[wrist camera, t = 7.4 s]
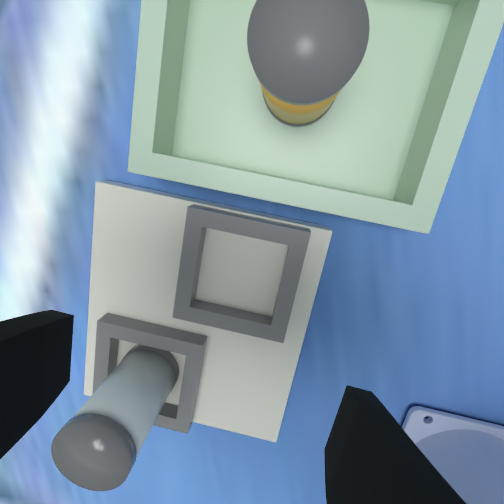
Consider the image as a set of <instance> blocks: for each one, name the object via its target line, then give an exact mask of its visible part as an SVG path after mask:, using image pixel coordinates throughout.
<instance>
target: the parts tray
mask: <svg viewBox="0 0 504 504" xmlns="http://www.w3.org/2000/svg"><path fill="white" fill-rule="evenodd" d="M256 1H257V0H142V2H141V15H140V27H139V39H138V51H137V64H136V76H135V88H134V100H133V112H132V125H131V137H130V149H129V161H128V172H131V173H136V174H141V175H146V176H151V177H156V178H160V179H165V180H170V181H175V182H180V183H185V184H189V185H194V186H199V187H204V188H209V189H214V190H218V191H223V192H228V193H233V194H238V195H243V196H247V197H252V198H257V199H262V200H267V201H272V202H276V203H281V204H286V205H291V206H296V207H301V208H305V209H310V210H315V211H320V212H325V213H330V214H334V215H339V216H344V217H349V218H354V219H359V220H363V221H368V222H373V223H378V224H383V225H388V226H392V227H397V228H402V229H407V230H412V231H417V232H421V233H426V234H429V232H430V229H431V226H432V224H433V221H434V218H435V215H436V212H437V209H438V207H439V204H440V201H441V198H442V195H443V192H444V190H445V187H446V184H447V181H448V178H449V176H450V173H451V170H452V167H453V164H454V161H455V159H456V156H457V153H458V150H459V147H460V144H461V142H462V139H463V136H464V133H465V130H466V128H467V125H468V122H469V119H470V116H471V113H472V111H473V108H474V105H475V102H476V99H477V96H478V94H479V91H480V88H481V85H482V82H483V79H484V77H485V74H486V71H487V68H488V65H489V63H490V60H491V57H492V54H493V51H494V48H495V46H496V43H497V40H498V37H499V34H500V31H501V29H502V26H503V23H504V0H365V3H366V6H367V10H368V15H369V29H370V30H369V40H368V44H367V49H366V52H365V55H364V57H363V59H362V62H361V64H360V66H359V67H358V69H357V70H356V72H355V74H354V75H353V76H352V78H351V79H350V80H349V82H348V83H347V84H346V85H345V86H344V87H343V88H342V89H341V91H340V92H339V94H338V95H337V97H336V98H335V100H334V103H333V104H332V106H331V108H330V109H329V110H328V112H327V113H326V114H325V115H324V116H323V117H322V118H321V119H320V120H318V121H317V122H315V123H313V124H311V125H308V126H304V127H292V126H288V125H285V124H283V123H281V122H279V121H278V120H277V119H275V118H274V117H273V115H272V114H271V113H270V112H269V110H268V108H267V106H266V103H265V101H264V97H263V92H262V88H261V85H260V82H259V80H258V78H257V76H256V74H255V72H254V69H253V67H252V64H251V61H250V58H249V53H248V47H247V29H248V23H249V19H250V15H251V12H252V9H253V7H254V5H255V3H256Z"/></svg>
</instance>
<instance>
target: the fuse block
mask: <svg viewBox="0 0 504 504" xmlns="http://www.w3.org/2000/svg"><path fill="white" fill-rule="evenodd" d="M332 232H333V231H332V229H331V228H330V227H329V226H324V225H319V224H314V223H310V222H305V221H300V220H295V219H291V218H286V217H281V216H276V215H271V214H267V213H262V212H257V211H252V210H248V209H243V208H238V207H233V206H228V205H224V204H219V203H214V202H209V201H205V200H200V199H195V198H190V197H185V196H181V195H176V194H171V193H166V192H162V191H157V190H152V189H147V188H142V187H138V186H133V185H128V184H123V183H119V182H114V181H109V180H108V181H96V186H95V204H94V222H93V240H92V258H91V276H90V294H89V312H88V330H87V348H86V366H85V384H84V395H88V396H92V395H93V393H94V392H95V391H96V390H97V389H98V388H99V386H100V385H101V384H102V383H103V382H104V381H105V379H106V378H107V377H108V376H109V375H110V374H111V372H112V371H113V370H114V369H115V368H116V367H117V366H118V364H119V363H120V362H121V360H122V359H123V357H124V356H125V355H126V354H127V353H128V351H129V350H130V349H131V348H133V347H134V346H136V345H138V344H140V345H144V346H149V347H153V348H157V349H161V350H165V351H169V352H171V354H172V355H173V356H174V357H175V359H176V361H177V363H178V366H179V377H178V380H177V382H176V384H175V386H174V388H173V390H172V391H171V392H170V394H169V396H168V398H167V399H166V401H165V403H164V405H163V407H162V409H161V411H160V413H159V415H158V417H157V418H156V420H155V422H154V424H153V425H155V426H159V427H163V428H167V429H171V430H175V431H179V432H183V433H187V434H188V432H189V430H190V427H191V424H192V422H196V423H200V424H204V425H208V426H212V427H216V428H220V429H224V430H228V431H232V432H236V433H240V434H244V435H248V436H252V437H256V438H260V439H264V440H268V441H272V442H276V441H277V437H278V433H279V430H280V426H281V422H282V419H283V415H284V411H285V407H286V404H287V400H288V396H289V392H290V389H291V385H292V381H293V378H294V374H295V370H296V366H297V363H298V359H299V355H300V351H301V348H302V344H303V340H304V336H305V333H306V329H307V325H308V322H309V318H310V314H311V310H312V307H313V303H314V299H315V295H316V292H317V288H318V284H319V281H320V277H321V273H322V269H323V266H324V262H325V258H326V254H327V251H328V247H329V243H330V239H331V236H332Z"/></svg>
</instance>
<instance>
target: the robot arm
mask: <svg viewBox="0 0 504 504" xmlns="http://www.w3.org/2000/svg"><path fill="white" fill-rule="evenodd" d="M73 318H74V315H70V314H66V313H62V312H58V311H54V310H48V311H42V312H37V313H33V314H29V315H24V316H20V317H16V318H12V319H9V320H5V321H1V322H0V459H1V458H2V457H3V456H4V455H5V454H6V453H7V452H8V451H9V450H10V449H11V448H12V447H13V446H14V445H15V444H16V443H17V442H18V441H19V440H20V439H21V438H22V437H23V436H24V435H25V434H26V432H27V431H28V430H29V429H30V428H31V427H32V426H33V425H34V424H35V423H36V422H37V421H38V420H39V419H40V418H41V417H42V416H43V414H44V413H45V412H46V411H47V410H48V408H49V407H50V406H51V405H52V403H53V402H54V401H55V400H56V398H57V397H58V396H59V394H60V393H61V392H62V390H63V389H64V388H65V386H66V385H67V384H68V382H69V381H70V366H71V350H72V334H73ZM426 416H429V418H426V419H424V417H426ZM325 484H326V500H327V504H504V426H501V425H496V424H492V423H488V422H484V421H480V420H475V419H471V418H467V417H463V416H459V415H454V414H450V413H446V412H442V411H437V410H433V409H429V408H425V407H421V406H414V407H412V408H410V409H409V411H408V413H407V415H406V418H405V421H404V423H403V426H402V427H401V426H400V425H399V424H398V423H397V421H396V420H395V419H394V418H393V416H392V415H391V414H390V413H389V412H388V410H387V409H386V408H385V407H384V405H383V404H382V403H381V402H380V401H379V400H378V398H377V397H376V396H375V395H374V394H373V393H372V392H371V391H367V390H363V389H359V388H355V387H351V386H347V387H346V389H345V392H344V395H343V398H342V401H341V404H340V407H339V410H338V412H337V415H336V418H335V421H334V424H333V427H332V430H331V433H330V436H329V438H328V441H327V444H326V447H325Z"/></svg>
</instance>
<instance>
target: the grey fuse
mask: <svg viewBox="0 0 504 504" xmlns="http://www.w3.org/2000/svg"><path fill="white" fill-rule="evenodd" d="M178 377H179V366H178V363H177V361H176V359H175V357H174V356H173V355H172V354H171V352H169V351H165V350H161V349H157V348H153V347H149V346H144V345H140V344H138V345H136V346H134V347H133V348H131V349H130V350H129V351H128V353H127V354H126V355H125V356H124V357H123V359H122V360H121V362H120V363H119V364H118V366H117V367H116V368H115V369H114V370H113V371H112V372H111V374H110V375H109V376H108V377H107V378H106V379H105V381H104V382H103V383H102V384H101V385H100V386H99V388H98V389H97V390H96V391H95V392H94V393H93V395H92V396H91V397H90V398H89V399H88V400H87V402H86V403H85V404H84V405H83V406H82V407H81V409H80V410H79V411H78V412H77V413H76V414H75V416H74V417H73V418H72V419H70V420H69V421H68V422H67V423H66V424H65V425H64V426H63V428H62V429H61V430H60V431H59V432H58V433H57V435H56V436H55V437H54V439H53V442H52V447H51V452H52V457H53V460H54V463H55V465H56V466H57V468H58V470H59V471H60V472H61V473H62V474H63V475H64V476H65V477H66V478H67V479H68V480H69V481H71V482H72V483H74V484H76V485H78V486H80V487H82V488H85V489H88V490H93V491H108V490H112V489H114V488H116V487H118V486H120V485H121V484H122V483H123V482H124V481H125V480H126V478H127V476H128V475H129V473H130V471H131V469H132V467H133V465H134V463H135V460H136V457H137V455H138V453H139V451H140V449H141V447H142V445H143V443H144V441H145V439H146V438H147V436H148V434H149V432H150V430H151V428H152V426H153V424H154V422H155V420H156V418H157V417H158V415H159V413H160V411H161V409H162V407H163V405H164V403H165V401H166V399H167V398H168V396H169V394H170V392H171V391H172V390H173V388H174V386H175V384H176V382H177V380H178Z"/></svg>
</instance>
